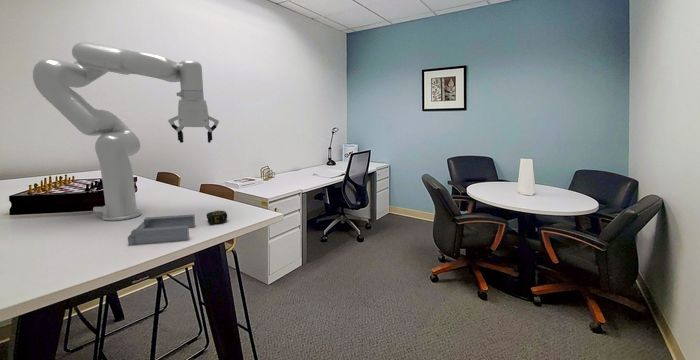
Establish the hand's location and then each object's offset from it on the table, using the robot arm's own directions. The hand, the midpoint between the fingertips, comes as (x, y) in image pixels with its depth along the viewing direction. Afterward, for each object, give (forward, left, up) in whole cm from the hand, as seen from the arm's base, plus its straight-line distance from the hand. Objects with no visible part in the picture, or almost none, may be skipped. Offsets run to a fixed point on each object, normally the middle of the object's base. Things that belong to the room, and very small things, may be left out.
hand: (195, 142), depth 123 cm
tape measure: (+7, -13, -29) cm, 32 cm away
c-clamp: (-8, -21, -28) cm, 36 cm away
